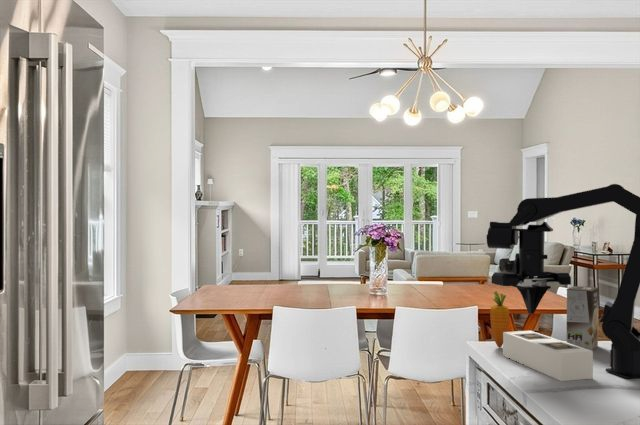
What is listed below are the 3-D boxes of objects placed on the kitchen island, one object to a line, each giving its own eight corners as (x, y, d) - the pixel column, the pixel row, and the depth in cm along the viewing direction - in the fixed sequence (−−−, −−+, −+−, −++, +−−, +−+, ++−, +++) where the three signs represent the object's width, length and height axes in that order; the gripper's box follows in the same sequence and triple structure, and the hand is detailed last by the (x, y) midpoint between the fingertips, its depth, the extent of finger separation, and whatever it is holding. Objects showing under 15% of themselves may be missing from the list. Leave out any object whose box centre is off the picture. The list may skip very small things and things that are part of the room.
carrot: (511, 349, 146) (511, 293, 146) (492, 349, 146) (492, 293, 146) (505, 345, 151) (505, 290, 151) (487, 345, 151) (487, 290, 151)
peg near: (571, 372, 124) (571, 346, 124) (557, 373, 123) (557, 347, 123) (560, 368, 128) (560, 343, 128) (546, 369, 127) (546, 344, 127)
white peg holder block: (592, 378, 121) (592, 351, 121) (561, 381, 119) (561, 353, 119) (530, 354, 142) (530, 330, 142) (503, 355, 140) (503, 332, 140)
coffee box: (592, 352, 144) (592, 290, 144) (565, 349, 148) (566, 288, 148) (598, 346, 151) (598, 287, 151) (573, 342, 155) (573, 285, 155)
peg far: (542, 361, 134) (542, 337, 134) (529, 362, 133) (529, 338, 133) (533, 357, 137) (533, 334, 138) (520, 358, 137) (520, 334, 137)
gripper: (543, 247, 146) (543, 307, 146) (479, 248, 141) (479, 309, 141) (572, 250, 135) (572, 314, 135) (504, 251, 130) (504, 317, 130)
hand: (530, 313), depth 135 cm, fingers closed
